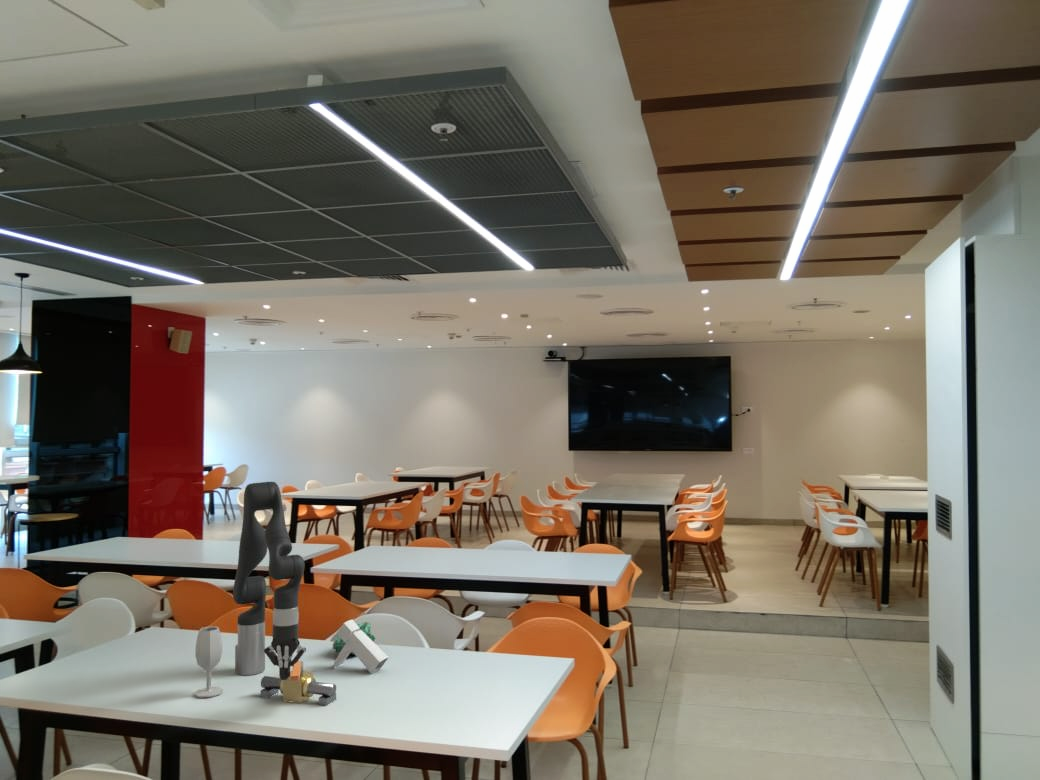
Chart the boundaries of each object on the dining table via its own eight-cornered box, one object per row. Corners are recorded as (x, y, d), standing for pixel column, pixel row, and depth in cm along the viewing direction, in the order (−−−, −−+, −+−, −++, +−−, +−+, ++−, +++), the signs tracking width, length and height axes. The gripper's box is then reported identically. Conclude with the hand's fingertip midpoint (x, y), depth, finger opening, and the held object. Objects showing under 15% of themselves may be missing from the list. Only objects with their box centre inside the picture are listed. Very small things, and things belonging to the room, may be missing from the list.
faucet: (379, 661, 260) (342, 620, 267) (355, 695, 263) (319, 654, 270) (389, 656, 266) (353, 616, 272) (365, 689, 269) (329, 649, 276)
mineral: (337, 646, 296) (337, 621, 296) (377, 644, 297) (377, 619, 298) (330, 661, 277) (330, 633, 278) (373, 658, 279) (373, 631, 279)
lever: (293, 671, 240) (293, 659, 240) (303, 670, 241) (303, 658, 241) (289, 688, 224) (289, 676, 224) (300, 687, 225) (300, 675, 225)
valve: (258, 697, 240) (258, 672, 240) (270, 691, 246) (270, 666, 246) (327, 706, 231) (327, 680, 232) (338, 699, 237) (338, 674, 237)
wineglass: (195, 700, 238) (195, 633, 239) (193, 692, 246) (193, 627, 247) (224, 695, 242) (224, 629, 243) (221, 687, 250) (221, 623, 251)
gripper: (259, 624, 225) (258, 682, 224) (301, 625, 224) (301, 684, 223) (270, 617, 232) (269, 674, 232) (311, 619, 231) (310, 675, 230)
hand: (284, 679), depth 227 cm, fingers closed
